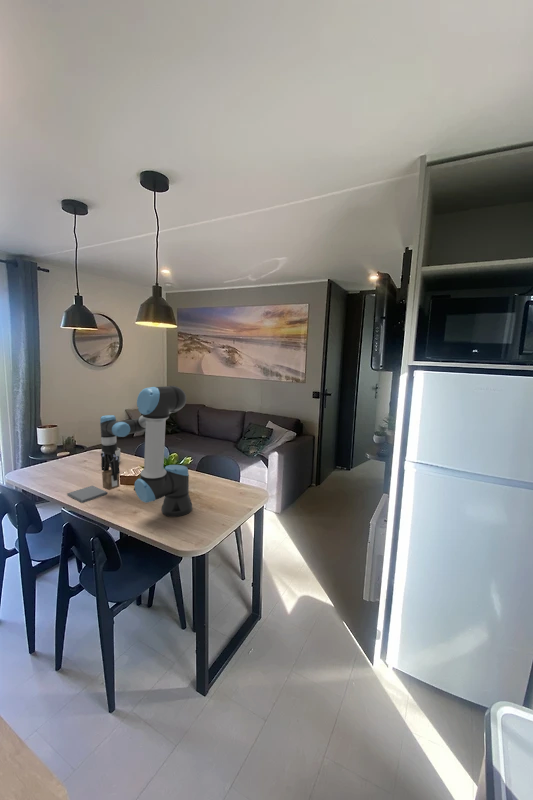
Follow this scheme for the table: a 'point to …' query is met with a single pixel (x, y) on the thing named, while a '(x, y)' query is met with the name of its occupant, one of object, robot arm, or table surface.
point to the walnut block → (109, 480)
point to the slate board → (87, 494)
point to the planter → (116, 453)
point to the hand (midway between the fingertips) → (111, 484)
